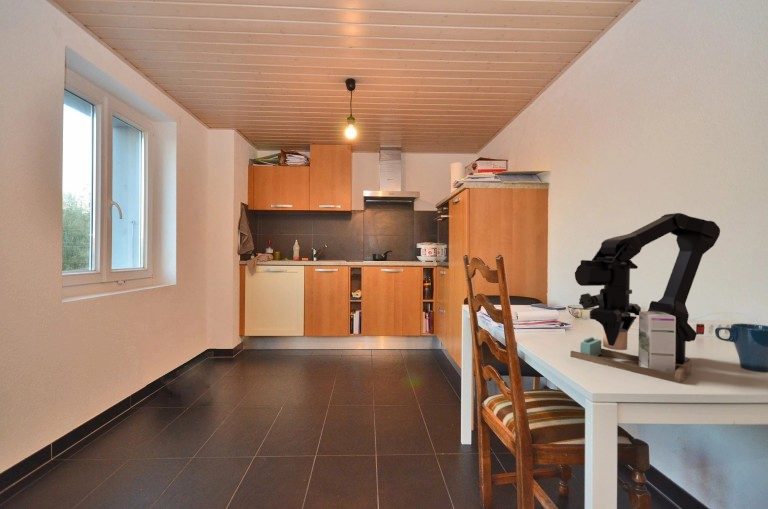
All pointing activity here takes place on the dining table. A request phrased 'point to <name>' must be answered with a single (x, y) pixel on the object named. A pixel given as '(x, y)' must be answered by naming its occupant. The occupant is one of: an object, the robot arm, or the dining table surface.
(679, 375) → the lane
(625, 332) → the jar
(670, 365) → the syrup box
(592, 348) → the block
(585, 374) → the dining table surface
